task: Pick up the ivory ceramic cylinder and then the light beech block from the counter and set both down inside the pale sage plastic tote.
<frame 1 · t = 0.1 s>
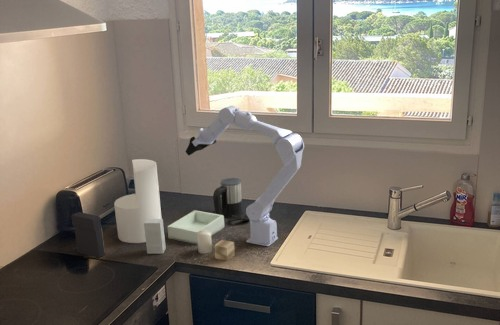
hand: (193, 150, 205), 32 cm above the worktop, tool tilted 50°, fingers open, 7 cm apart
skincare box: (156, 251, 196), on the worktop
cylinder: (140, 234, 212), on the worktop
milk frother: (236, 217, 224), on the worktop
beech block: (225, 256, 189), on the worktop
calculator: (91, 254, 196), on the worktop
ivory cylinder: (205, 250, 195), on the worktop
tote: (197, 232, 210), on the worktop
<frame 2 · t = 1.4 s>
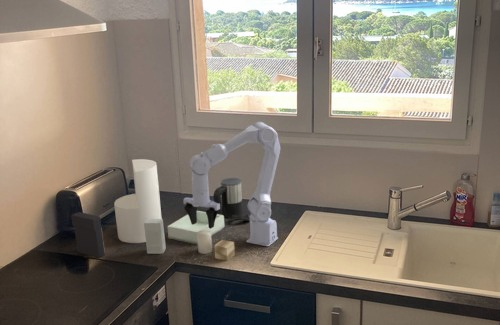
hand: (202, 225, 192), 10 cm above the worktop, tool pointing down, fingers open, 7 cm apart
nothing on the worktop moved.
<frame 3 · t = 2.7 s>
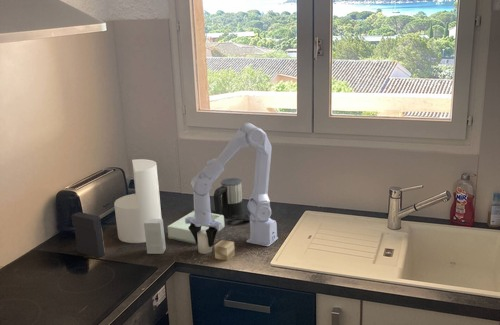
hand: (204, 244, 194), 2 cm above the worktop, tool pointing down, fingers closed on ivory cylinder, 5 cm apart
ivory cylinder: (205, 250, 195), on the worktop, touching gripper
everything else where it was.
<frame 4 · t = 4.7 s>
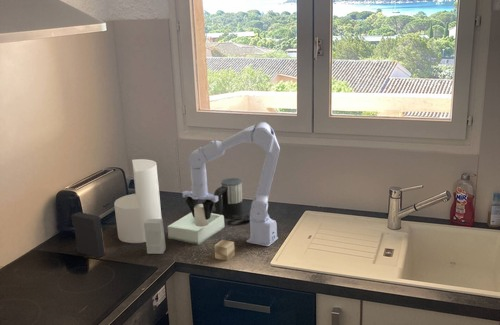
hand: (201, 217, 200), 9 cm above the worktop, tool pointing down, fingers closed on ivory cylinder, 5 cm apart
ivory cylinder: (201, 223, 201), point 7 cm above the worktop, touching gripper
everything else where it was.
when the fingers open (4 cm above the worktop, at t = 6.9 s): ivory cylinder stays where it is, resting on tote.
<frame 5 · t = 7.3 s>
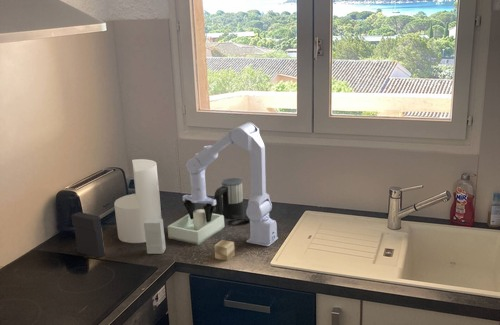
hand: (200, 219, 212), 4 cm above the worktop, tool pointing down, fingers open, 7 cm apart
ivory cylinder: (200, 228, 212), point 1 cm above the worktop, touching tote
everything else where it was.
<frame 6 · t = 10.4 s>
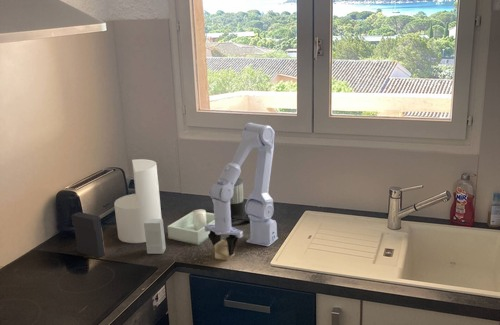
hand: (224, 252, 189), 1 cm above the worktop, tool pointing down, fingers closed on beech block, 5 cm apart
beech block: (225, 256, 189), on the worktop, touching gripper
everything else where it was.
when the fingers open (3 cm above the worktop, at t = 14.7 s): beech block drops 1 cm, resting on tote.
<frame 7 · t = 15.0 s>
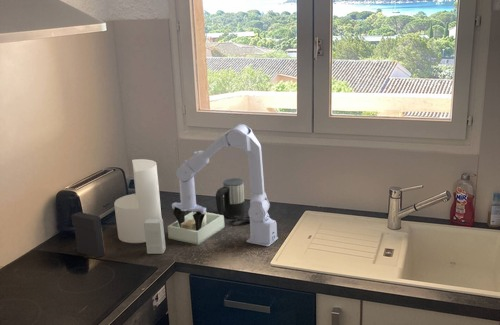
hand: (190, 228, 206), 3 cm above the worktop, tool pointing down, fingers open, 7 cm apart
beech block: (190, 234, 207), point 1 cm above the worktop, touching tote
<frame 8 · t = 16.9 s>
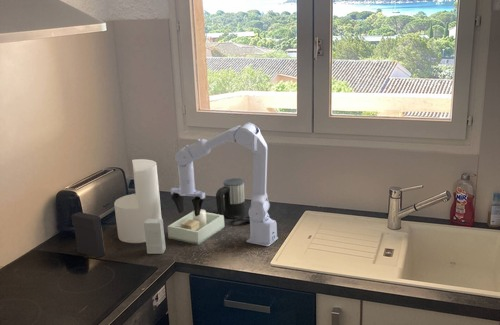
hand: (189, 213, 204), 9 cm above the worktop, tool pointing down, fingers open, 7 cm apart
at the end: ivory cylinder inside the target area on the tote (2.7 cm from its centre), point 0.8 cm above the tote's base; beech block inside the target area on the tote (4.1 cm from its centre), point 0.8 cm above the tote's base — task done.
